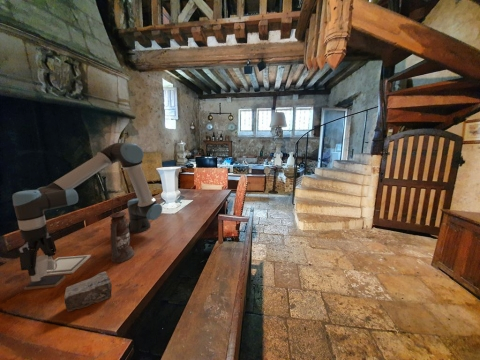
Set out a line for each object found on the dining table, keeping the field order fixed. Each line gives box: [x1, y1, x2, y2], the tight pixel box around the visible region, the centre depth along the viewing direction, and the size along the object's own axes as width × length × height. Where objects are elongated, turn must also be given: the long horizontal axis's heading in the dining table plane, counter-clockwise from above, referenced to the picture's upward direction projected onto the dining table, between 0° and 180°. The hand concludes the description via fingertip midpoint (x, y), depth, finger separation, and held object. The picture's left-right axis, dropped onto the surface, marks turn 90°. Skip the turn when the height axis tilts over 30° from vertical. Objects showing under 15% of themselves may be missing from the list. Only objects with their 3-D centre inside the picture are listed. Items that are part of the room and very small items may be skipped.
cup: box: [31, 254, 57, 278], centre depth 80 cm, size 7×10×8 cm
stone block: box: [63, 271, 113, 312], centre depth 73 cm, size 14×9×8 cm, turn 129°
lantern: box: [109, 195, 135, 263], centre depth 98 cm, size 11×16×35 cm
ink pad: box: [23, 274, 67, 291], centre depth 81 cm, size 12×6×2 cm, turn 100°
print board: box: [44, 254, 92, 277], centre depth 93 cm, size 16×14×1 cm
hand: (43, 274), depth 80 cm, fingers closed on cup, 6 cm apart
